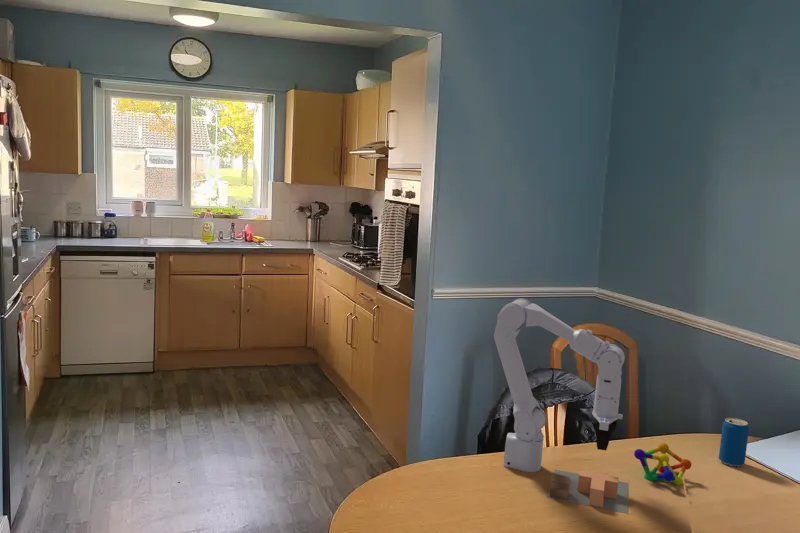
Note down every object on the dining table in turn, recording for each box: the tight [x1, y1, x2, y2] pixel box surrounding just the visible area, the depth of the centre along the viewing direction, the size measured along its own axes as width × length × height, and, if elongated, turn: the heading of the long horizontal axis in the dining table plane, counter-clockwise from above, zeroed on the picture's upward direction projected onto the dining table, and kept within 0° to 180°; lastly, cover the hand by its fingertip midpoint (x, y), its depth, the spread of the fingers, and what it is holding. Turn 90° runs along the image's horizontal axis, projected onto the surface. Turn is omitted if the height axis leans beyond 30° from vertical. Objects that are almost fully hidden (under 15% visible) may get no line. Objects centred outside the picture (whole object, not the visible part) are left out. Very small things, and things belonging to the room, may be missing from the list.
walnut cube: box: [549, 473, 570, 500], centre depth 160 cm, size 4×4×4 cm
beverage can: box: [718, 417, 750, 468], centre depth 187 cm, size 6×6×12 cm
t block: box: [577, 470, 619, 507], centre depth 159 cm, size 9×9×4 cm
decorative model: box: [633, 442, 692, 486], centre depth 174 cm, size 13×9×15 cm
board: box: [546, 469, 629, 515], centre depth 163 cm, size 18×17×1 cm
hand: (601, 448), depth 167 cm, fingers closed
